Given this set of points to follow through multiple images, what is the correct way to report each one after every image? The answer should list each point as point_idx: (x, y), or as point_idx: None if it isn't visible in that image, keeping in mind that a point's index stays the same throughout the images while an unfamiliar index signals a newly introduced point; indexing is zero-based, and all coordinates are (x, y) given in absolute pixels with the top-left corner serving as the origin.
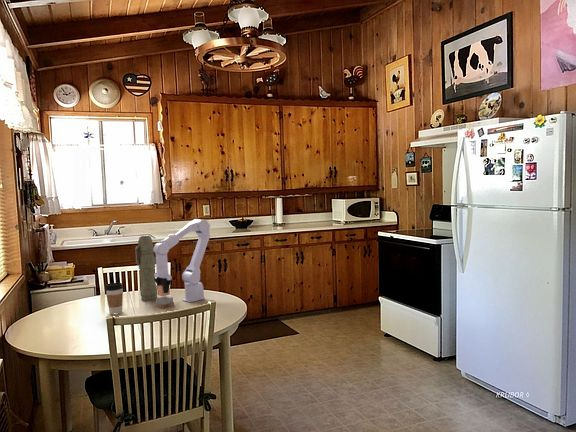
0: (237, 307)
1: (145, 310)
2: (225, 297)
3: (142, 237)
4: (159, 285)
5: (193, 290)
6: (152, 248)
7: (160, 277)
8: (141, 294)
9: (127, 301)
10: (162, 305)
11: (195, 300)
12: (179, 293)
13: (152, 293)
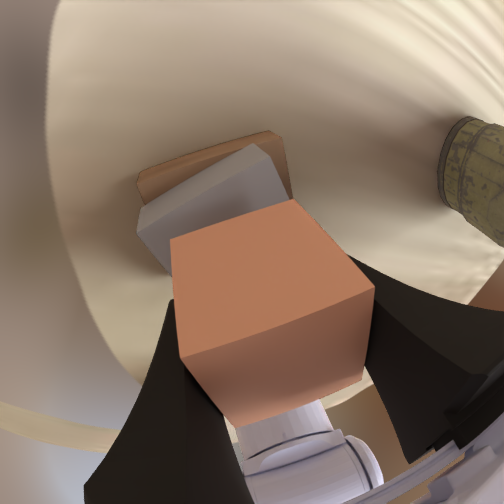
0: (50, 438)
1: (189, 22)
2: None
3: None
4: (341, 325)
5: (236, 430)
6: None
7: (432, 460)
8: (500, 126)
9: (491, 53)
10: (139, 189)
11: None
12: None
13: (471, 190)
